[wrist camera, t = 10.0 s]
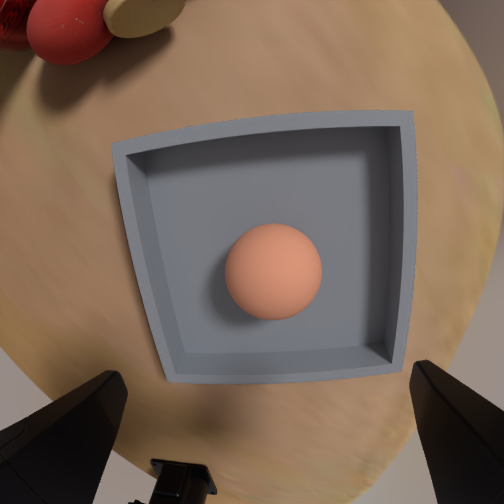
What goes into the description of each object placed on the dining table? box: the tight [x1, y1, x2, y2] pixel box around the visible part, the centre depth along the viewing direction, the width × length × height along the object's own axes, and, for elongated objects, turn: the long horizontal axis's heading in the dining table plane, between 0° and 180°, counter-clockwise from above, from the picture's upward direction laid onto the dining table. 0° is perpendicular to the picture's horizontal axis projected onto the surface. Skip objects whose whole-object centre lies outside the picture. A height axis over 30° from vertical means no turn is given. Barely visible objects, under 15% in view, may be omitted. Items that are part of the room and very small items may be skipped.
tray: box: [111, 110, 418, 384], centre depth 18 cm, size 16×16×3 cm
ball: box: [225, 223, 322, 320], centre depth 17 cm, size 5×5×5 cm
